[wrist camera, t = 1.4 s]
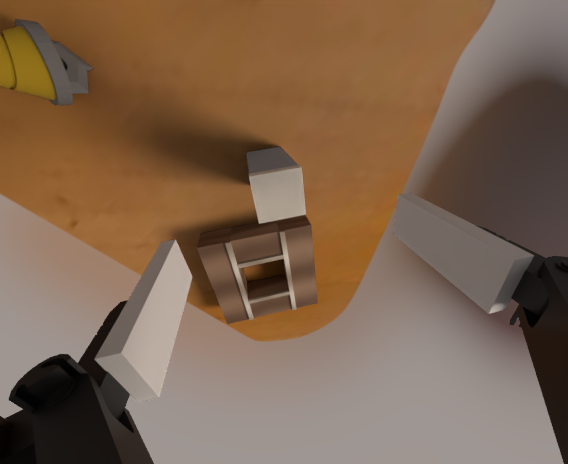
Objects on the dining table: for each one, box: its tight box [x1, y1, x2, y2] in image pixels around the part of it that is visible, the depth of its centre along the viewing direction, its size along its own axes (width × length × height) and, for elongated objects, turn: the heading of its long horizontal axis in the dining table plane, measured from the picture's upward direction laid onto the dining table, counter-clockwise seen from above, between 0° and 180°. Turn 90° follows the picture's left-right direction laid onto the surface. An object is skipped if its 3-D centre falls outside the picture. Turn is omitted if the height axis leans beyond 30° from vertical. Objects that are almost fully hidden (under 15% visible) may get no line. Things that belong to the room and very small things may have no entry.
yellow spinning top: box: [0, 19, 94, 105], centre depth 17 cm, size 5×5×10 cm
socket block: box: [197, 215, 317, 324], centre depth 32 cm, size 14×14×4 cm
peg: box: [246, 147, 306, 224], centre depth 23 cm, size 4×4×10 cm
